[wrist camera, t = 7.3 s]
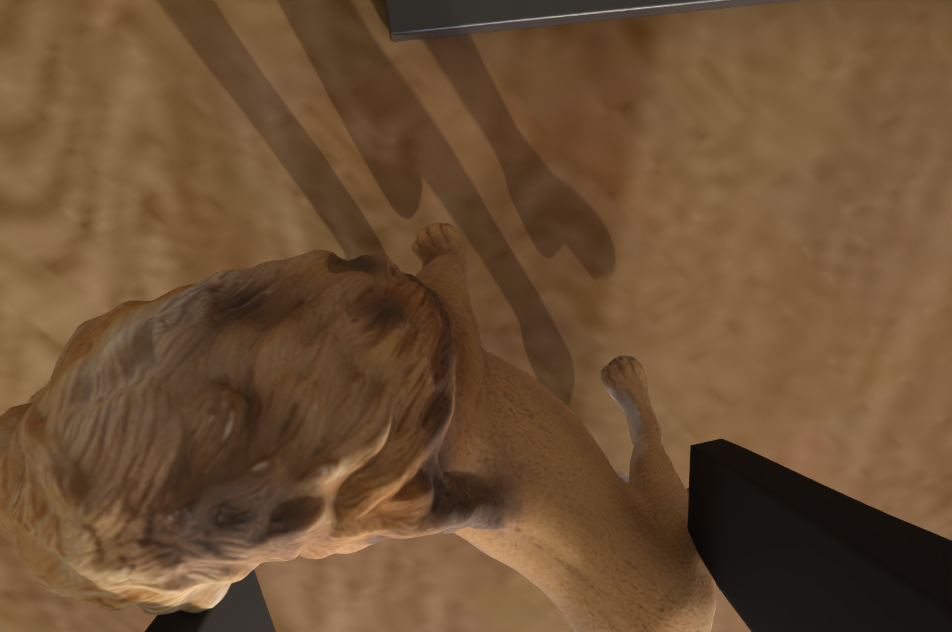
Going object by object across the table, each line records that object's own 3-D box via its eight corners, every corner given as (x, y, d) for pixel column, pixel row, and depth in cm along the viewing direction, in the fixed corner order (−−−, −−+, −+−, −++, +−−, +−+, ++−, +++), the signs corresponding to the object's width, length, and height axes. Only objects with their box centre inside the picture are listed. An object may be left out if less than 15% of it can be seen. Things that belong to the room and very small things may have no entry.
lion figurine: (228, 308, 14) (-144, 638, 6) (303, 127, 12) (-108, 253, 4) (664, 526, 17) (818, 958, 9) (786, 410, 15) (1140, 832, 7)
